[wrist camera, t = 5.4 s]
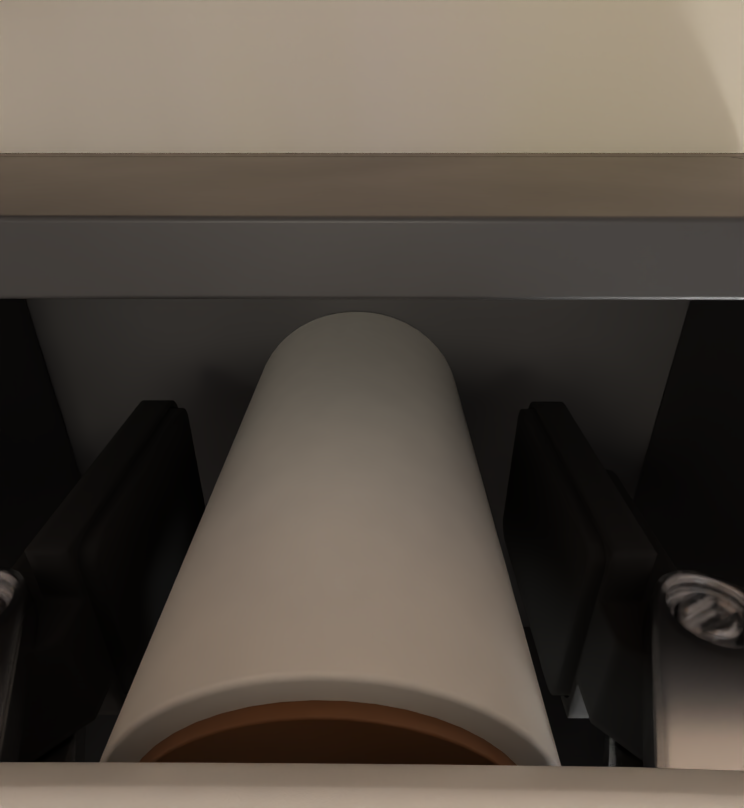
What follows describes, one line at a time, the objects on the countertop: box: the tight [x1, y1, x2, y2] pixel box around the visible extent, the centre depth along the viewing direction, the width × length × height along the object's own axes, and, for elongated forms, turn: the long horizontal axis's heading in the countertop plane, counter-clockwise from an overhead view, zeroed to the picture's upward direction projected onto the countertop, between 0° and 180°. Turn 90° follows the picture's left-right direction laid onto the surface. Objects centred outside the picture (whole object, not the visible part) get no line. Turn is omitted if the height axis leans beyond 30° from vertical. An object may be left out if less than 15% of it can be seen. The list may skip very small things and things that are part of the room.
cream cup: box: [100, 312, 561, 766], centre depth 9 cm, size 5×5×9 cm
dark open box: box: [0, 153, 744, 767], centre depth 11 cm, size 14×16×7 cm
